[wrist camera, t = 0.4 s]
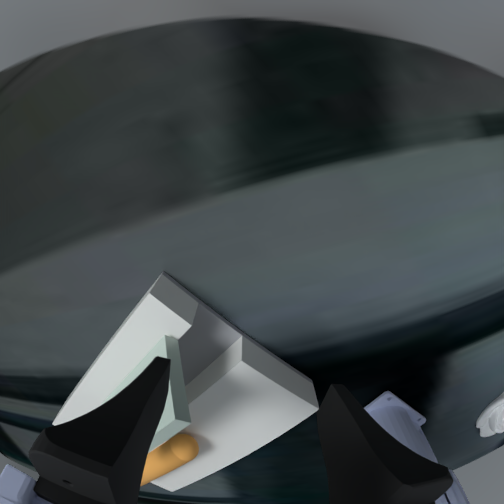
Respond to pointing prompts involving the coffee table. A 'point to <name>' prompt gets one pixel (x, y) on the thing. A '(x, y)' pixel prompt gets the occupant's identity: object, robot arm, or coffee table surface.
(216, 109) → the coffee table surface
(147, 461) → the orange rounded rod
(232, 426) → the board
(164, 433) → the cover
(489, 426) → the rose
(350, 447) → the robot arm
